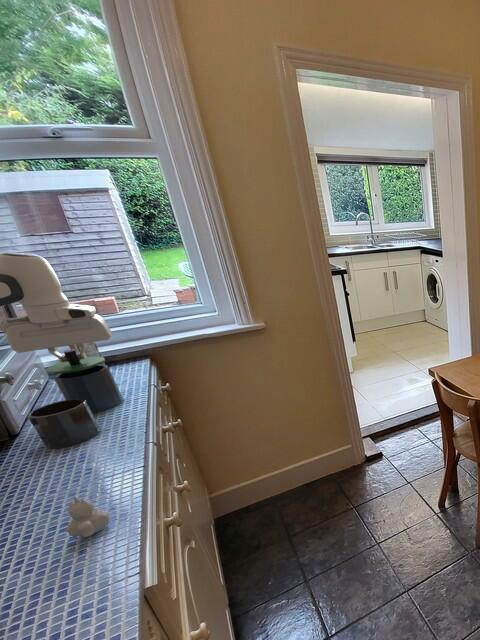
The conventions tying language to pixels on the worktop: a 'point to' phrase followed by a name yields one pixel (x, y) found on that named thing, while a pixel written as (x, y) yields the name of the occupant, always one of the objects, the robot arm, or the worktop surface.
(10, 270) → the robot arm
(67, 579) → the worktop surface
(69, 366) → the lid
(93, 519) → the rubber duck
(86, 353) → the candy bar box
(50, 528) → the worktop surface
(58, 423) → the cup
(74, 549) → the worktop surface
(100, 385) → the tin
